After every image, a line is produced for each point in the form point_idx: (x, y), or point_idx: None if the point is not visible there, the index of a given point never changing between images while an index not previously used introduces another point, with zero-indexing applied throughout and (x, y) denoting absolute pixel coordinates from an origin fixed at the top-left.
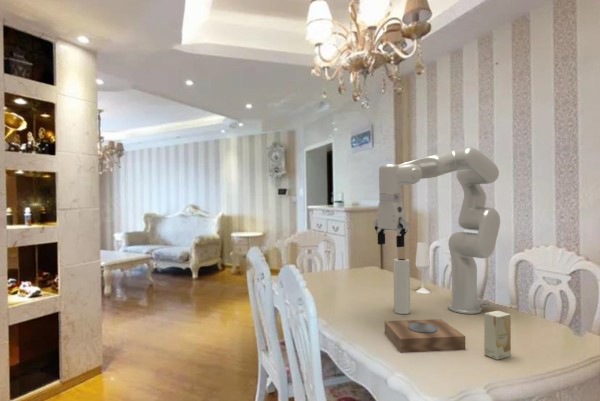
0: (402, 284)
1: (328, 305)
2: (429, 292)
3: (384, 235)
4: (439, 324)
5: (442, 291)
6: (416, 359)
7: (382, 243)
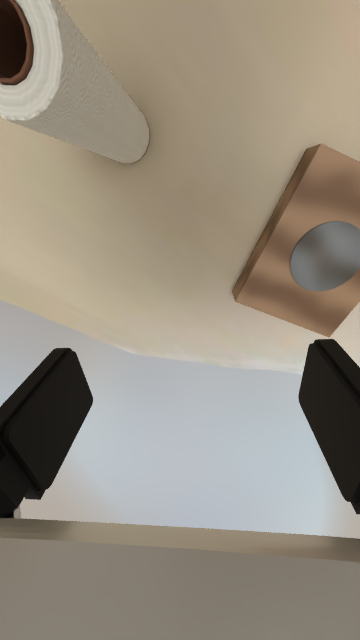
0: (117, 131)
1: (17, 291)
2: None
3: (25, 420)
4: (343, 193)
5: None
6: (354, 321)
7: (81, 377)
